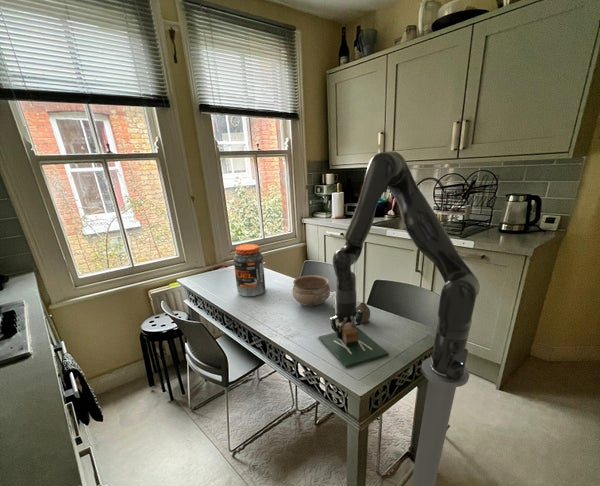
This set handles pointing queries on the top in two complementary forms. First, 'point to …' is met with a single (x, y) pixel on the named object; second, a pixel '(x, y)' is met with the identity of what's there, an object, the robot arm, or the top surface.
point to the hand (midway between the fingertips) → (346, 336)
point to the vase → (364, 312)
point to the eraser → (349, 334)
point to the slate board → (353, 349)
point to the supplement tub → (249, 270)
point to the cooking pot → (311, 290)
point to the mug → (333, 301)
